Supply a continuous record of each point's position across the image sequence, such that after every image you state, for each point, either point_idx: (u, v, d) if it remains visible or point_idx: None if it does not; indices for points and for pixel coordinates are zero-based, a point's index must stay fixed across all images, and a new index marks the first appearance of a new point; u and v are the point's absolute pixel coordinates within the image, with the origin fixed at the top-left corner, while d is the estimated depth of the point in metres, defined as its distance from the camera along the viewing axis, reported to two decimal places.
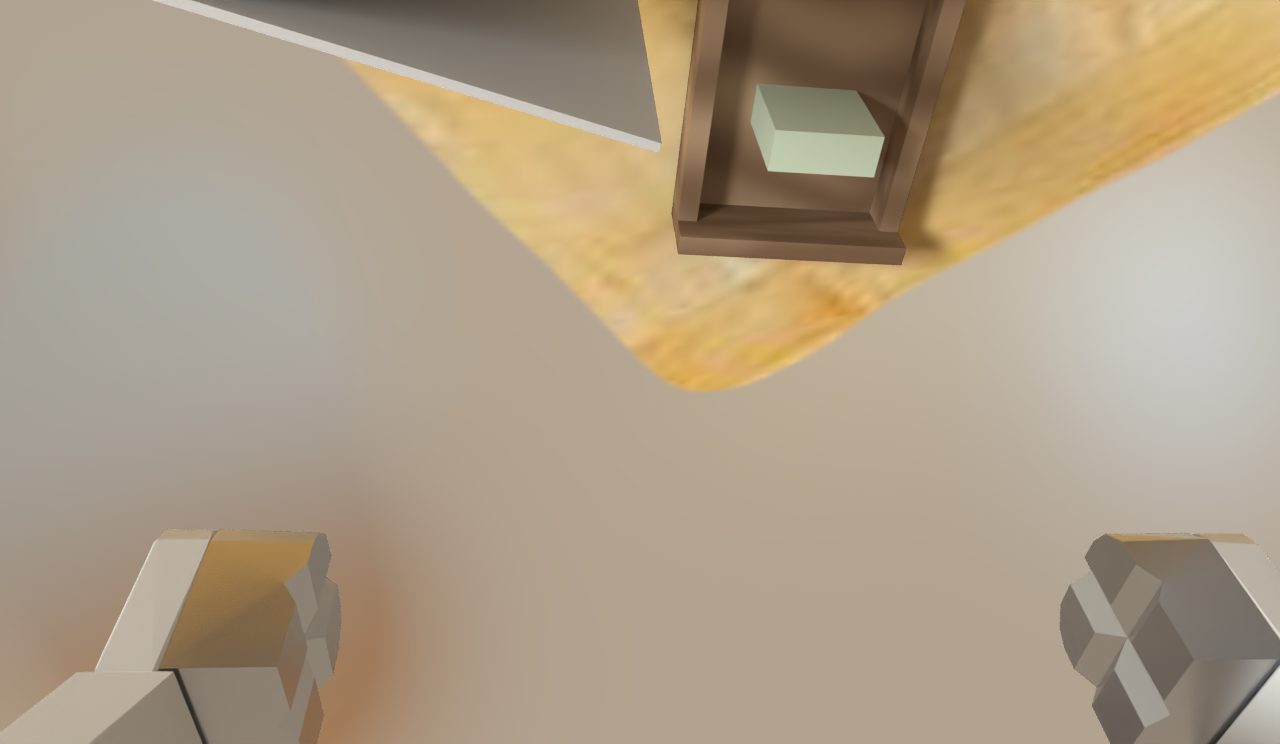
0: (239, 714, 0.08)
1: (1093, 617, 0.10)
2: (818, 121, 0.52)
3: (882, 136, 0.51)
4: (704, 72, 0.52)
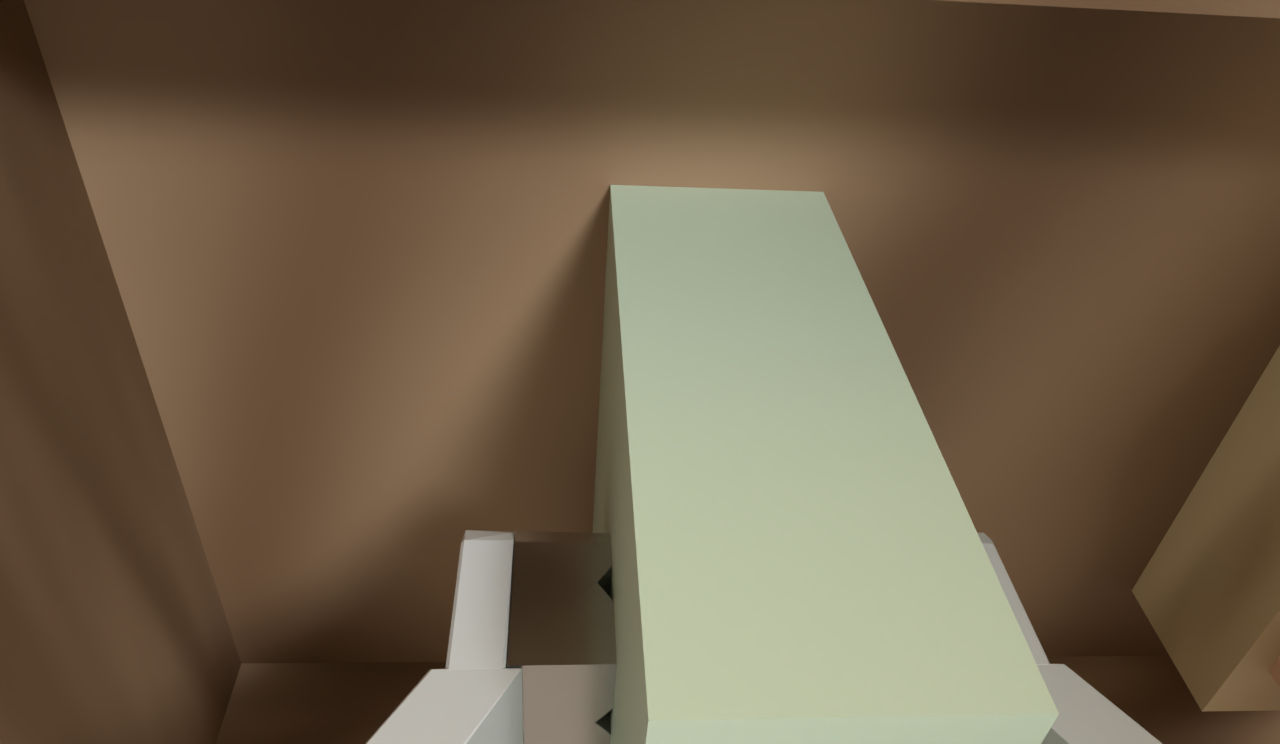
0: (565, 710, 0.08)
1: None
2: None
3: None
4: None
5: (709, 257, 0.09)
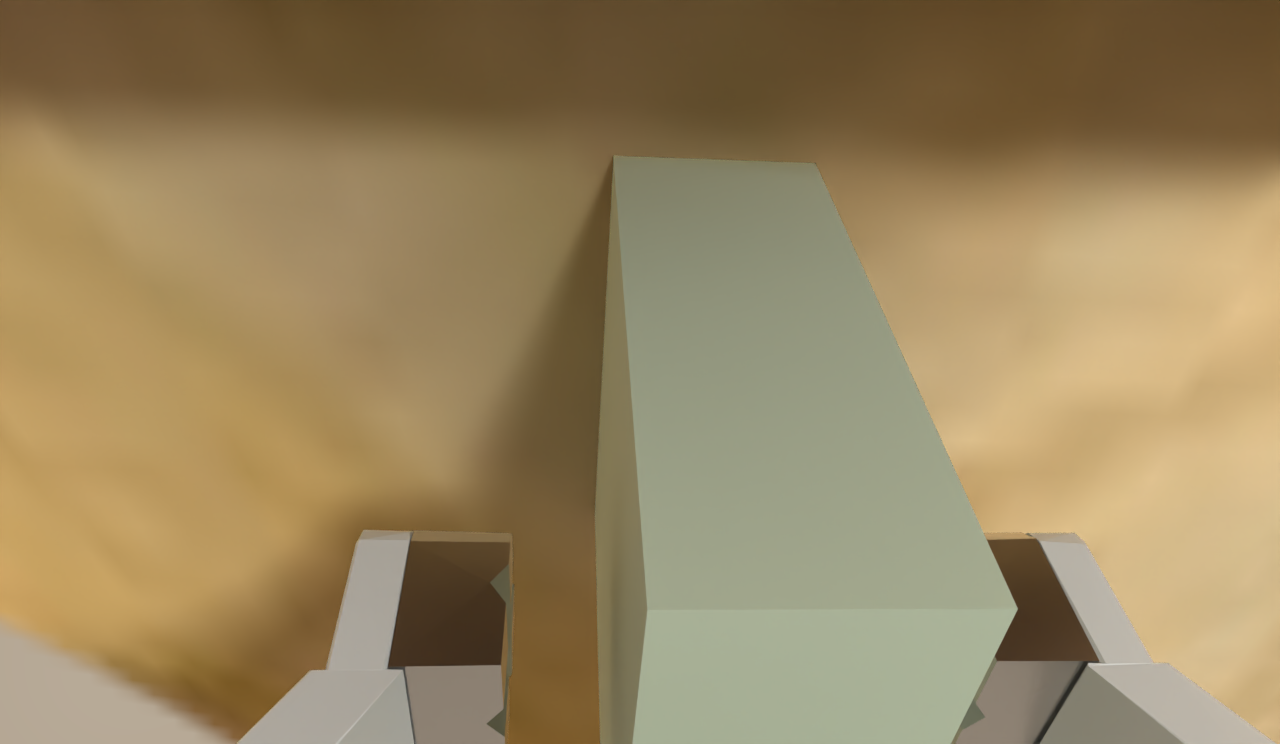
0: (454, 711, 0.08)
1: None
2: None
3: None
4: None
5: (706, 220, 0.10)
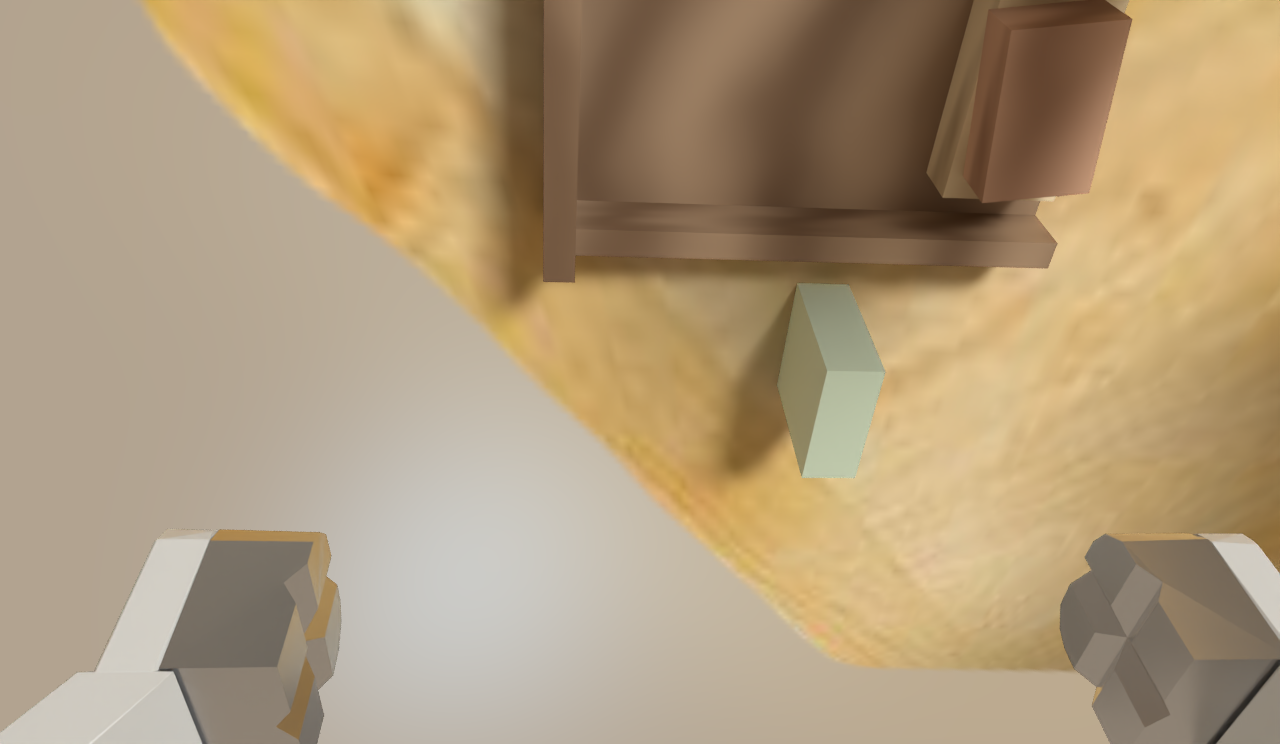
0: (239, 714, 0.08)
1: (1093, 617, 0.10)
2: None
3: (854, 475, 0.42)
4: None
5: (823, 301, 0.42)
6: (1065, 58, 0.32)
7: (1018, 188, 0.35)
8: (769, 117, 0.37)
